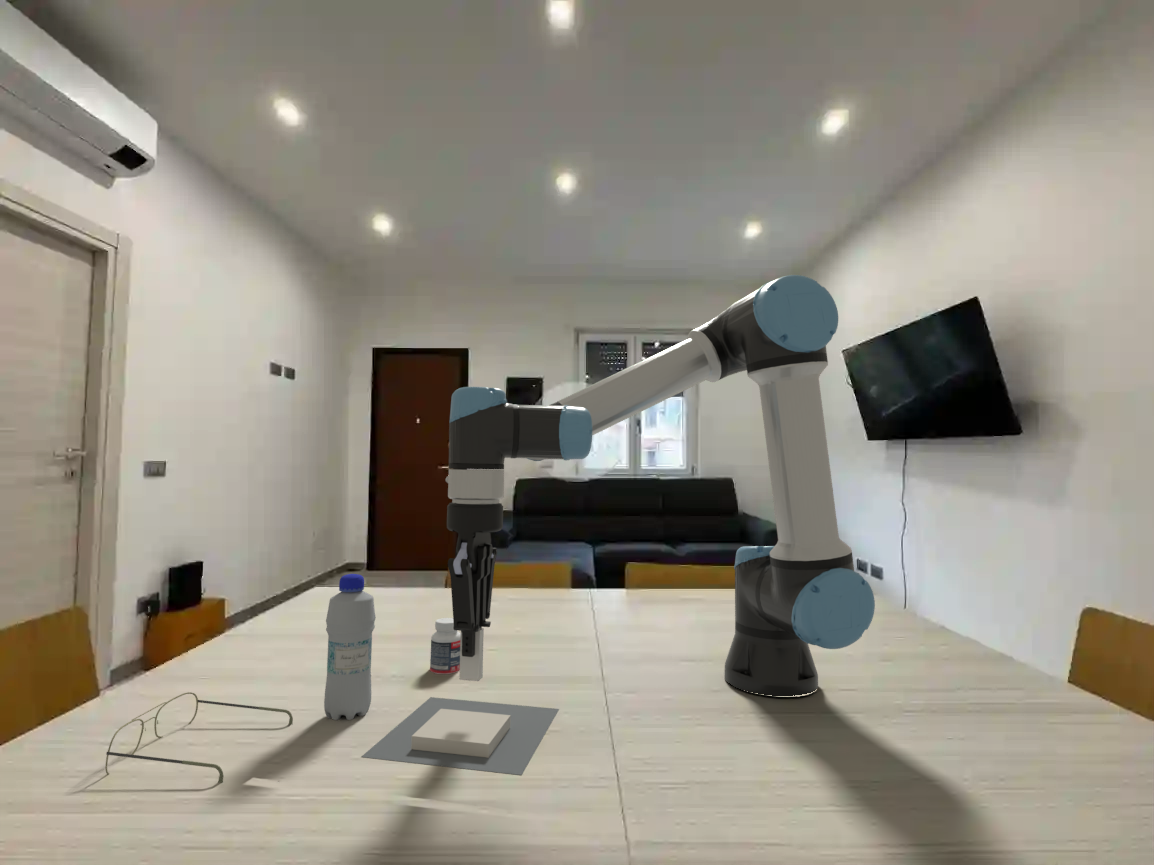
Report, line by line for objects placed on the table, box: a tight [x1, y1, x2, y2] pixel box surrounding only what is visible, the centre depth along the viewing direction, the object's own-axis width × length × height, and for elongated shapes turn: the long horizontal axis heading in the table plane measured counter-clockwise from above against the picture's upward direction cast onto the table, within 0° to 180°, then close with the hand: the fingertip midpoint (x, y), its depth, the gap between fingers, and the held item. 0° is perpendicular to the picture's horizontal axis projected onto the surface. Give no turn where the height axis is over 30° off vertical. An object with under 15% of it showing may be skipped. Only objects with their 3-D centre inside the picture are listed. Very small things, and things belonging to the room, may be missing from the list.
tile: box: [411, 709, 511, 758], centre depth 80 cm, size 10×2×9 cm
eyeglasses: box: [104, 691, 294, 784], centre depth 78 cm, size 16×15×5 cm
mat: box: [360, 696, 560, 776], centre depth 83 cm, size 20×20×1 cm
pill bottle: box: [429, 617, 461, 675], centre depth 108 cm, size 5×5×9 cm
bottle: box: [323, 573, 376, 721], centre depth 89 cm, size 7×7×20 cm
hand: (471, 678), depth 83 cm, fingers closed
